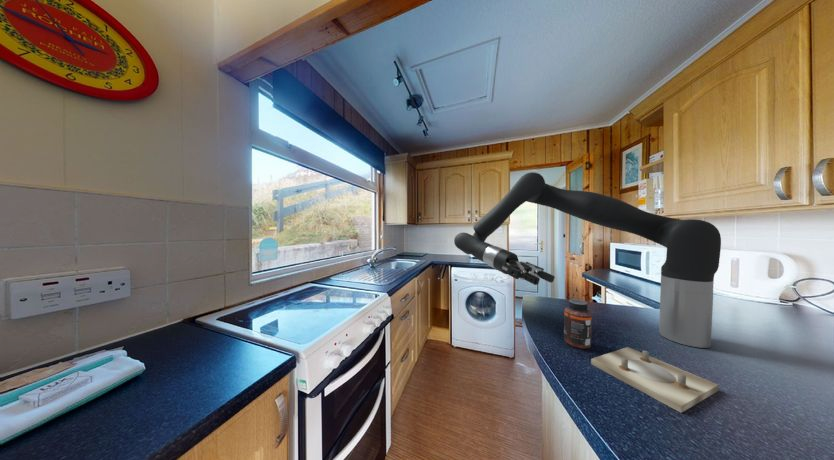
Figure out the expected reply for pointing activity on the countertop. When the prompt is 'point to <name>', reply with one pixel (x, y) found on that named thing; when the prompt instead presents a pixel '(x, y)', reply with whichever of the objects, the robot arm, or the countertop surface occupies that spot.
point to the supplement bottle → (577, 324)
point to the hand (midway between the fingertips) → (546, 280)
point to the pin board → (656, 378)
